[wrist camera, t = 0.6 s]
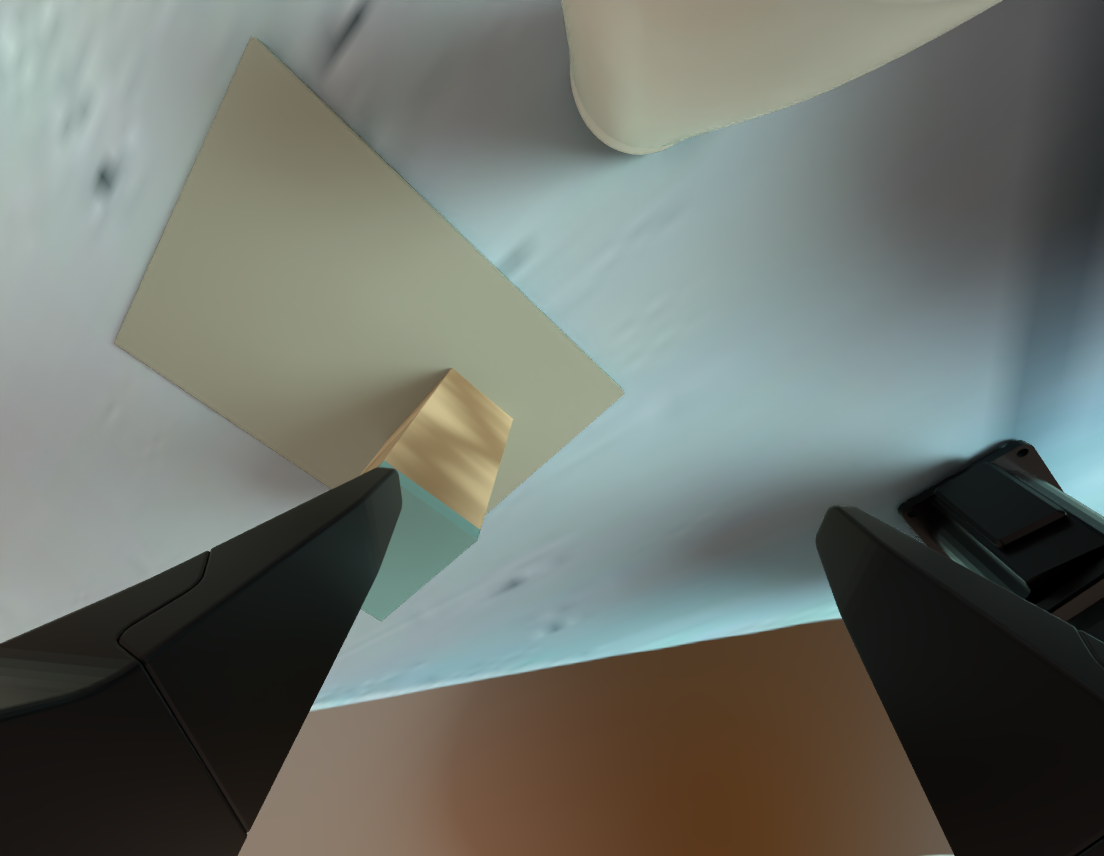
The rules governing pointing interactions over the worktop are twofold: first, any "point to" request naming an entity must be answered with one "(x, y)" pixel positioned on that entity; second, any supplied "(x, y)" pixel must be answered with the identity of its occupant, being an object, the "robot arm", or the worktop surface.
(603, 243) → the worktop surface
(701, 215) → the worktop surface
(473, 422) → the beech block
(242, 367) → the rubber mat
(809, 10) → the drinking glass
